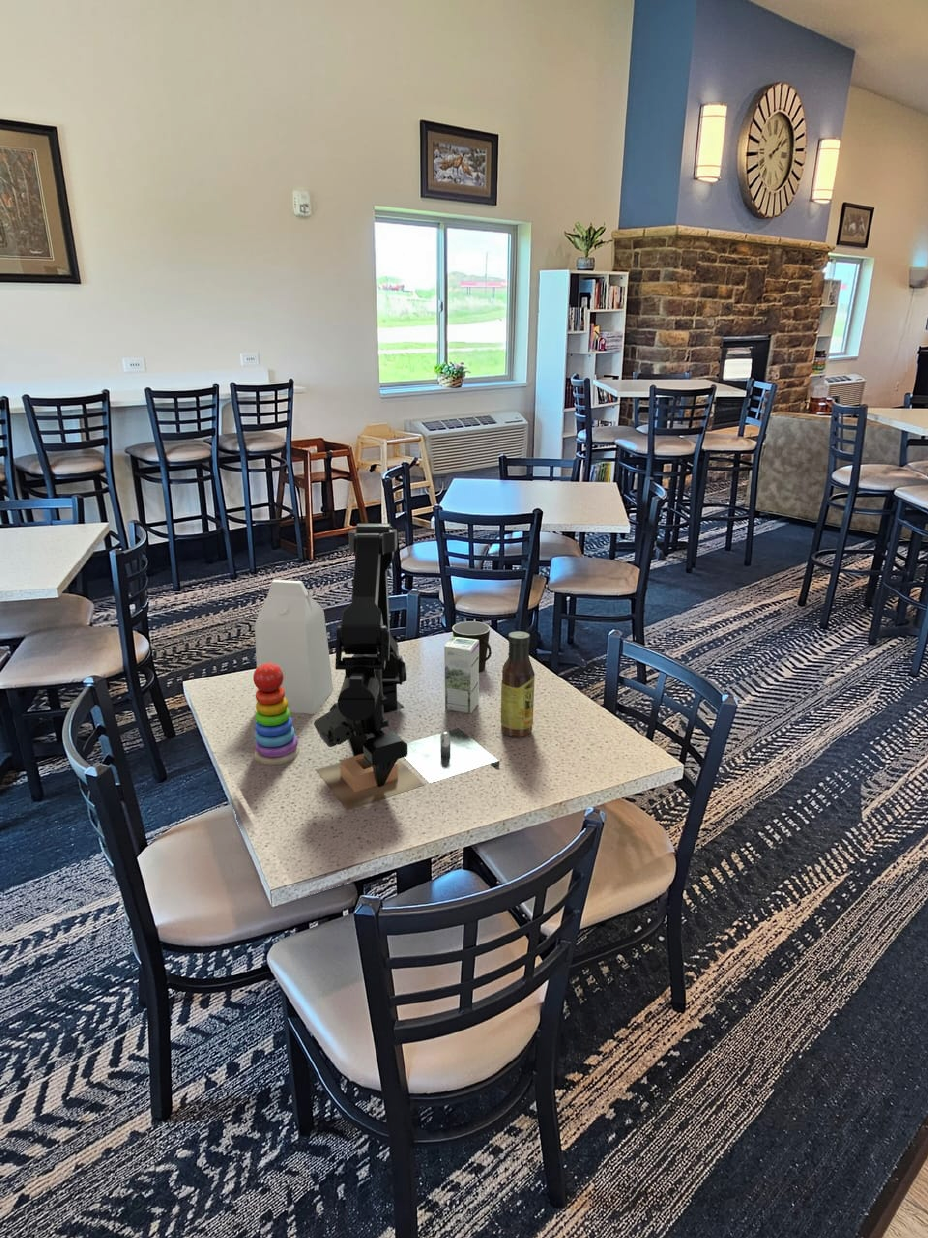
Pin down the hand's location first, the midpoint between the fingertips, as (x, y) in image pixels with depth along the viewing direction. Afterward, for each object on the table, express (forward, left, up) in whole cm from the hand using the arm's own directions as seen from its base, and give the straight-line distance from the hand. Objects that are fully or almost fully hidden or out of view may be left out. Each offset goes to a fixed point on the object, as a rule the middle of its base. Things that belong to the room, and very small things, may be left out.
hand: (369, 773), depth 129 cm
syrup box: (-16, +28, -2) cm, 32 cm away
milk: (-37, 0, -2) cm, 37 cm away
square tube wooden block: (0, 0, -1) cm, 1 cm away
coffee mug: (-30, +39, -2) cm, 49 cm away
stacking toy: (-16, -11, -2) cm, 20 cm away
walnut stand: (0, 0, -2) cm, 2 cm away
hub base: (0, +15, -2) cm, 15 cm away
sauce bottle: (-2, +32, -2) cm, 32 cm away
